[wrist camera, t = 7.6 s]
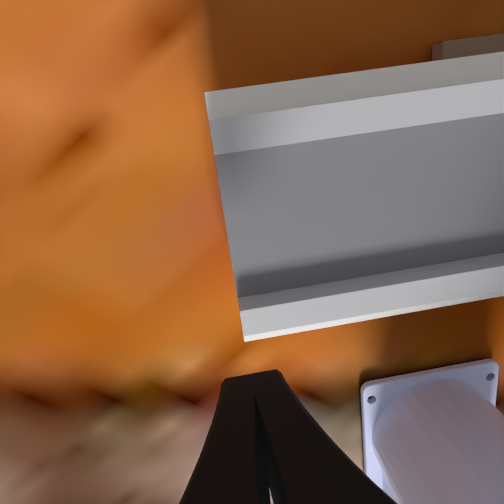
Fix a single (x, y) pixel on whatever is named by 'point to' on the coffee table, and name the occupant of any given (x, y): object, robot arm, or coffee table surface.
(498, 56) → the balance beam
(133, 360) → the coffee table surface
